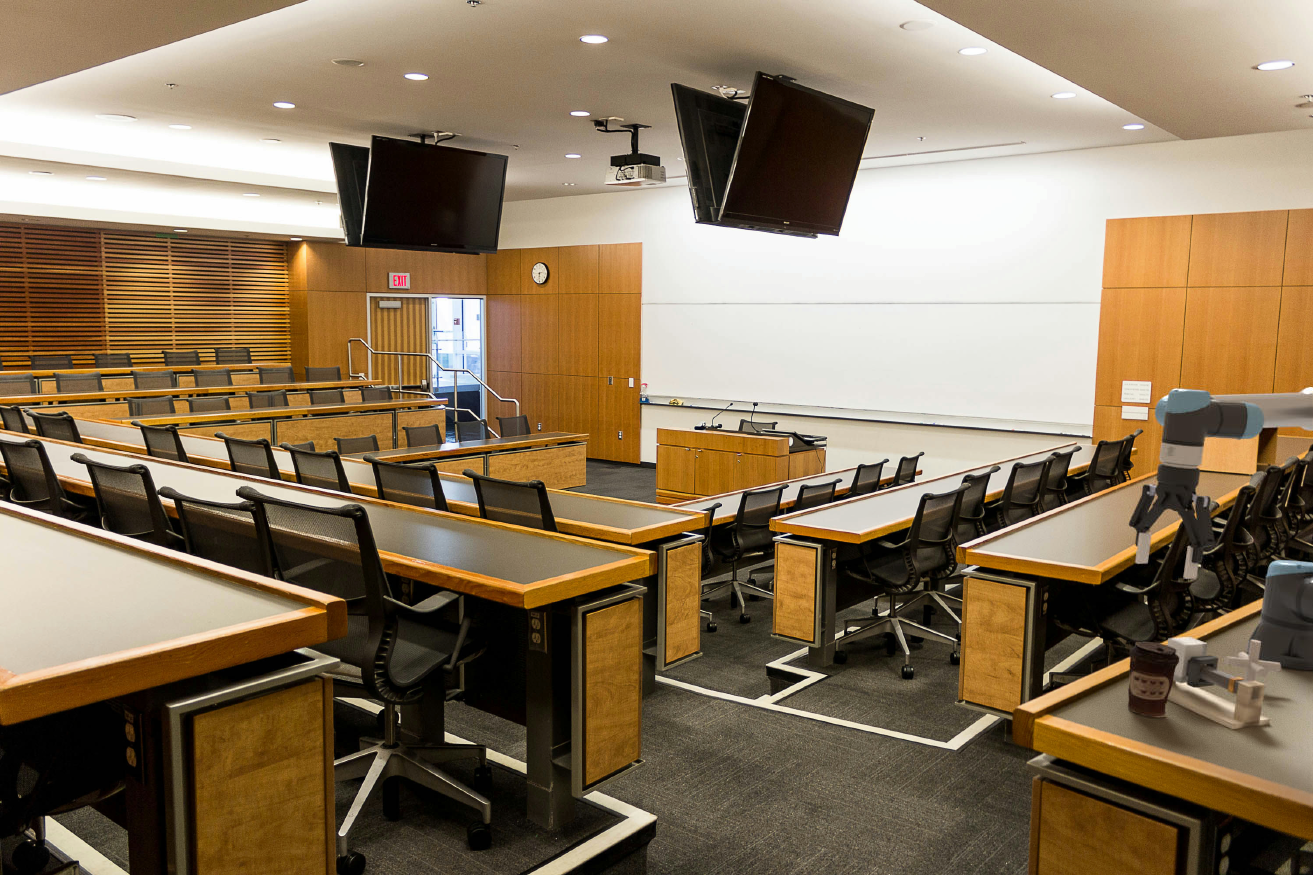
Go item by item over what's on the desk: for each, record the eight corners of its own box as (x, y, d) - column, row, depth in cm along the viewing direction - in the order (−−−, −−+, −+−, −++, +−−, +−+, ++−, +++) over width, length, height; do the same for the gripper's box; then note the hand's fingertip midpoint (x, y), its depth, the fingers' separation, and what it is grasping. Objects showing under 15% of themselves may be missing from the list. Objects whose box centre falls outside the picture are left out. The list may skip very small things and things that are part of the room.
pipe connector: (1286, 699, 188) (1293, 652, 187) (1232, 692, 190) (1239, 645, 189) (1264, 681, 198) (1271, 636, 197) (1213, 674, 200) (1220, 630, 199)
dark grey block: (1206, 682, 184) (1210, 655, 184) (1214, 685, 183) (1218, 658, 182) (1186, 684, 182) (1190, 657, 182) (1194, 687, 181) (1198, 660, 180)
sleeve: (1184, 673, 189) (1189, 636, 188) (1202, 680, 186) (1207, 643, 185) (1163, 675, 187) (1168, 638, 186) (1180, 683, 183) (1185, 645, 183)
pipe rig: (1176, 683, 193) (1181, 646, 192) (1269, 723, 175) (1275, 683, 174) (1141, 687, 190) (1146, 649, 189) (1232, 728, 171) (1238, 687, 170)
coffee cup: (1171, 725, 171) (1180, 657, 169) (1121, 713, 175) (1130, 647, 173) (1171, 709, 179) (1180, 645, 177) (1123, 698, 183) (1132, 635, 181)
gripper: (1118, 455, 197) (1105, 556, 200) (1219, 475, 176) (1203, 587, 179) (1144, 456, 200) (1131, 555, 203) (1246, 475, 179) (1230, 585, 181)
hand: (1164, 570), depth 191 cm, fingers open, 11 cm apart
